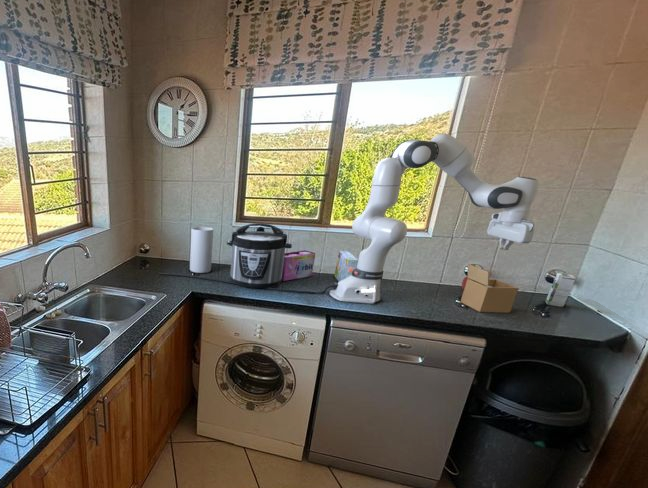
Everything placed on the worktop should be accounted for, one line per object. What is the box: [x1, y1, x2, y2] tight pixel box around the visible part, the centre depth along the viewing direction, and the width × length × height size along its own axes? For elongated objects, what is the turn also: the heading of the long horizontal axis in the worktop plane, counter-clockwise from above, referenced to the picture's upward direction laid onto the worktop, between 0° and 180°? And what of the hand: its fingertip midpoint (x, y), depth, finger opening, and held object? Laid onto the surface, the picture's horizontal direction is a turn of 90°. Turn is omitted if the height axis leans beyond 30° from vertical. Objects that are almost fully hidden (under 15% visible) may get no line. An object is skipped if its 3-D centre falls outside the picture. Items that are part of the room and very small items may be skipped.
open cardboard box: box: [460, 278, 520, 314], centre depth 183 cm, size 13×13×12 cm
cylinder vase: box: [189, 226, 214, 274], centre depth 235 cm, size 12×12×25 cm
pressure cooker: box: [226, 222, 293, 289], centre depth 212 cm, size 30×28×32 cm
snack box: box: [333, 250, 359, 282], centre depth 217 cm, size 21×6×15 cm, turn 168°
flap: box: [466, 264, 490, 286], centre depth 179 cm, size 6×13×1 cm
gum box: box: [281, 250, 316, 282], centre depth 226 cm, size 24×8×14 cm, turn 118°
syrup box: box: [545, 272, 576, 308], centre depth 186 cm, size 6×6×14 cm
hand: (503, 249), depth 175 cm, fingers closed
